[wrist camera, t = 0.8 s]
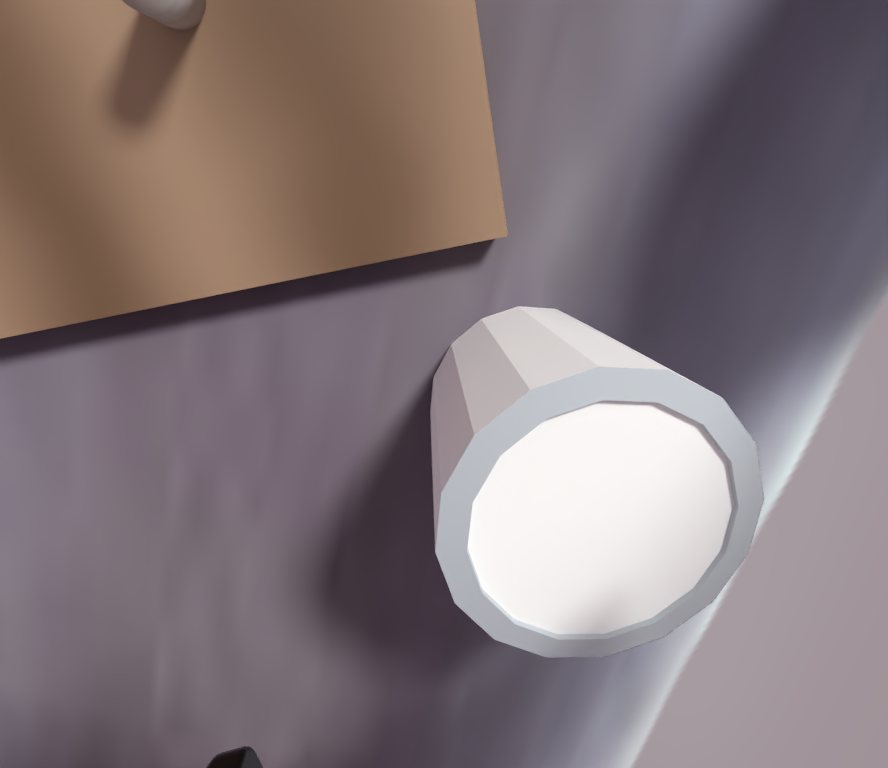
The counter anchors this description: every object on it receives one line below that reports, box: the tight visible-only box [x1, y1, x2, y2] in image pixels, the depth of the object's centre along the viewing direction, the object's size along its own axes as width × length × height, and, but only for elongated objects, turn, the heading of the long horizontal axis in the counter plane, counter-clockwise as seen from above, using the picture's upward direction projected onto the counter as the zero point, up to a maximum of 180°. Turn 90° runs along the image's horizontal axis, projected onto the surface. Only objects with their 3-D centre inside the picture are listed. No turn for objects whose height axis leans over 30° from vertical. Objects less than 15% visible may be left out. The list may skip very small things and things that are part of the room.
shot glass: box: [430, 306, 764, 658], centre depth 17 cm, size 7×7×7 cm
